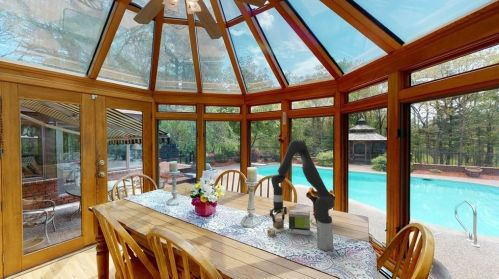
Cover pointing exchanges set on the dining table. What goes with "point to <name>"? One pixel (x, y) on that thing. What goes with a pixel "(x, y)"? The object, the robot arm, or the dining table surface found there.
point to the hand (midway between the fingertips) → (278, 220)
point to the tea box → (299, 222)
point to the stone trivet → (279, 229)
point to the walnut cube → (278, 223)
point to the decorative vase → (313, 197)
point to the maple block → (271, 232)
